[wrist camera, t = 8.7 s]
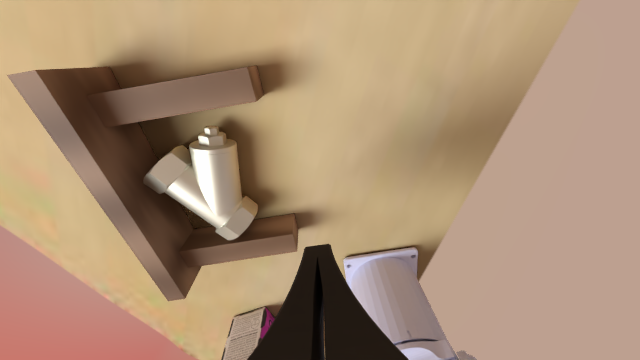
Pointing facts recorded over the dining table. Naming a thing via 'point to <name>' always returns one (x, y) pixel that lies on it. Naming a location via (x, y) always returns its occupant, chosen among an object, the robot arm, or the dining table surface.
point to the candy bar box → (247, 333)
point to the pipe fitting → (206, 182)
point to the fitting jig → (147, 163)
